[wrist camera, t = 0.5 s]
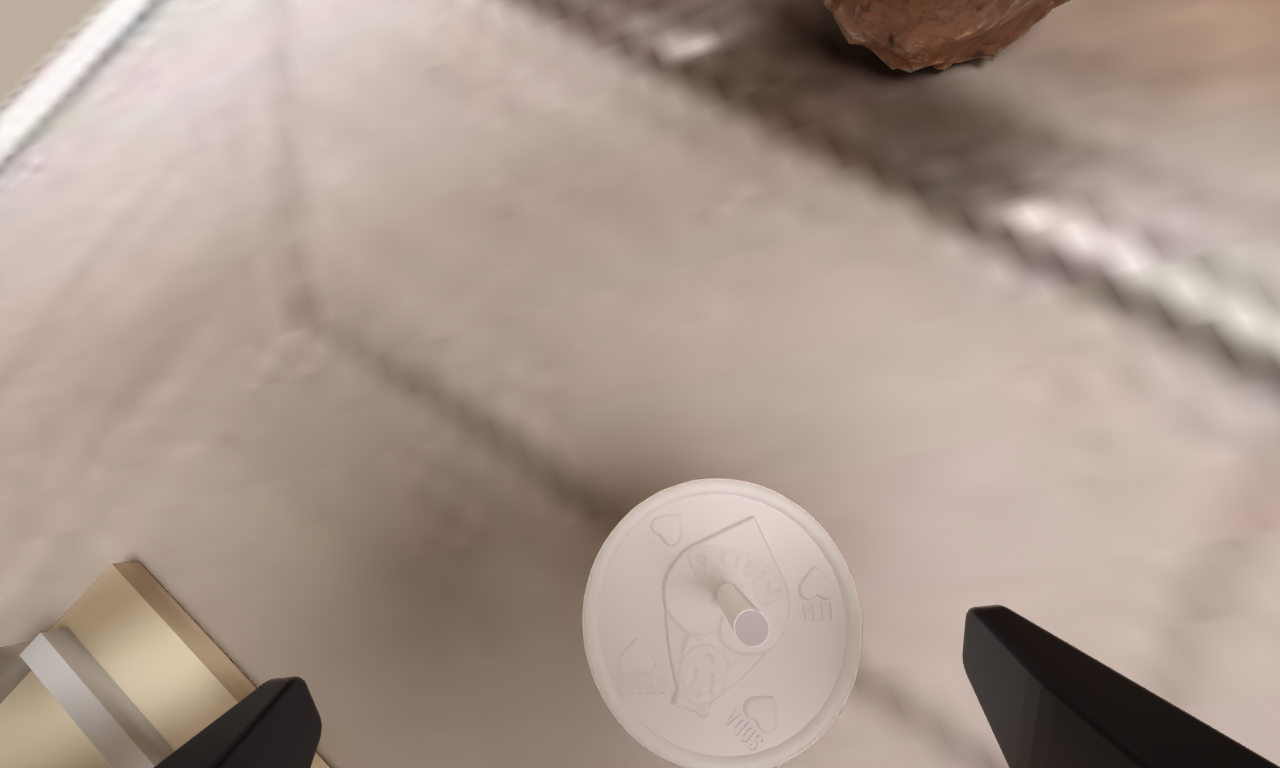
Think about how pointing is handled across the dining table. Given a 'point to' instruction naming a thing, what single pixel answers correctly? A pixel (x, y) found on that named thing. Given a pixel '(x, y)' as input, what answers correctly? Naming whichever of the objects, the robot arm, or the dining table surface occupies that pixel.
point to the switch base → (114, 681)
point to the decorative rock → (936, 28)
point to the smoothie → (722, 625)
